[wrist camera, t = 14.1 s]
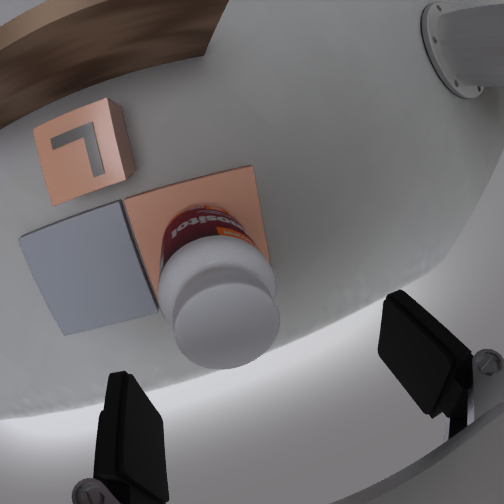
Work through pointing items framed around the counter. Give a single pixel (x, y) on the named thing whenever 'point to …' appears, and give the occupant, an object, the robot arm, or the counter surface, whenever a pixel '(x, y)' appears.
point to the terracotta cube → (84, 150)
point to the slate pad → (89, 270)
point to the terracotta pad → (188, 194)
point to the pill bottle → (216, 289)
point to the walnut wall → (94, 45)
